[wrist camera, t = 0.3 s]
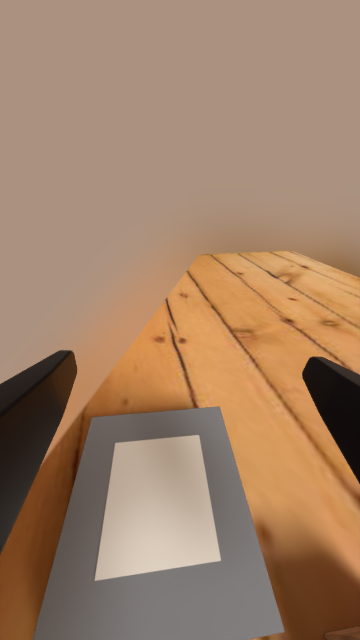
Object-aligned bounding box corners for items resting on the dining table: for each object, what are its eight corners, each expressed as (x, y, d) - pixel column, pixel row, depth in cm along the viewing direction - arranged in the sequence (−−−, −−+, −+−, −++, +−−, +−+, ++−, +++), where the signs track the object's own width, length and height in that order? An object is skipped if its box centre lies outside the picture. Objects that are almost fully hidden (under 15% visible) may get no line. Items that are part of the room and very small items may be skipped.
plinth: (263, 629, 12) (285, 632, 10) (51, 671, 11) (19, 685, 9) (214, 428, 22) (219, 405, 20) (100, 438, 21) (91, 416, 18)
